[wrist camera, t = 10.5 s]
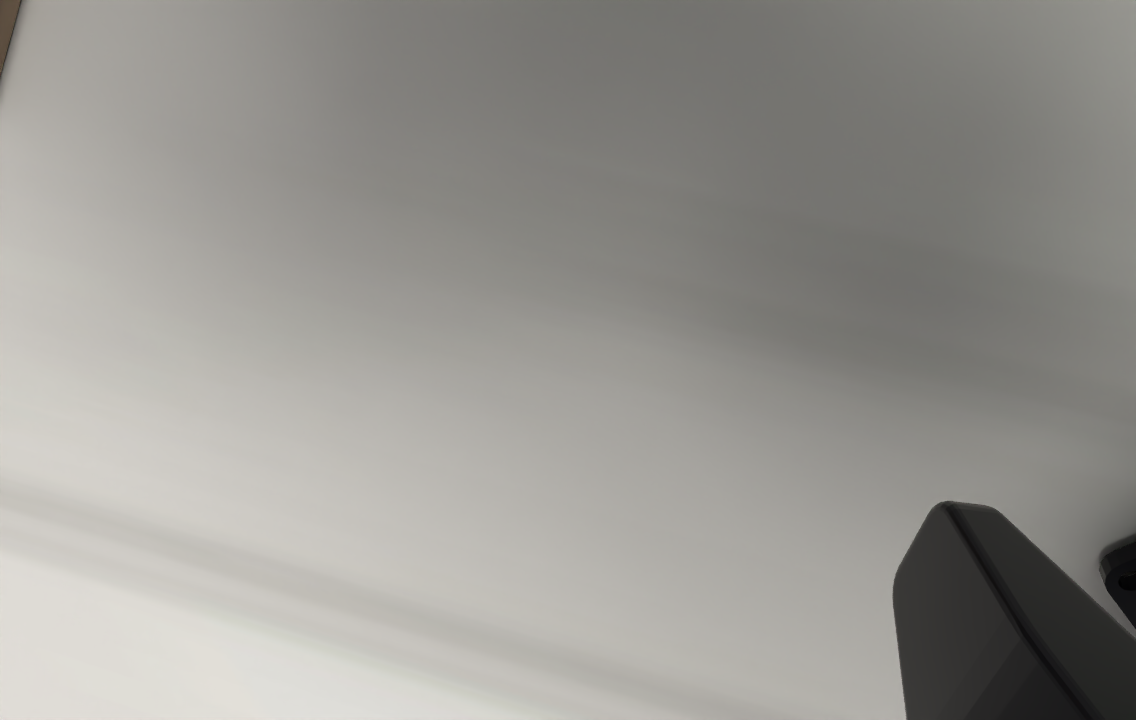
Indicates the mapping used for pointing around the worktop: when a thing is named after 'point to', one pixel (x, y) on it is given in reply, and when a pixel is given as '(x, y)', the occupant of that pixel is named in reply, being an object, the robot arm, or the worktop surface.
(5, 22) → the walnut coaster board
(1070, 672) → the robot arm
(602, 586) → the worktop surface
